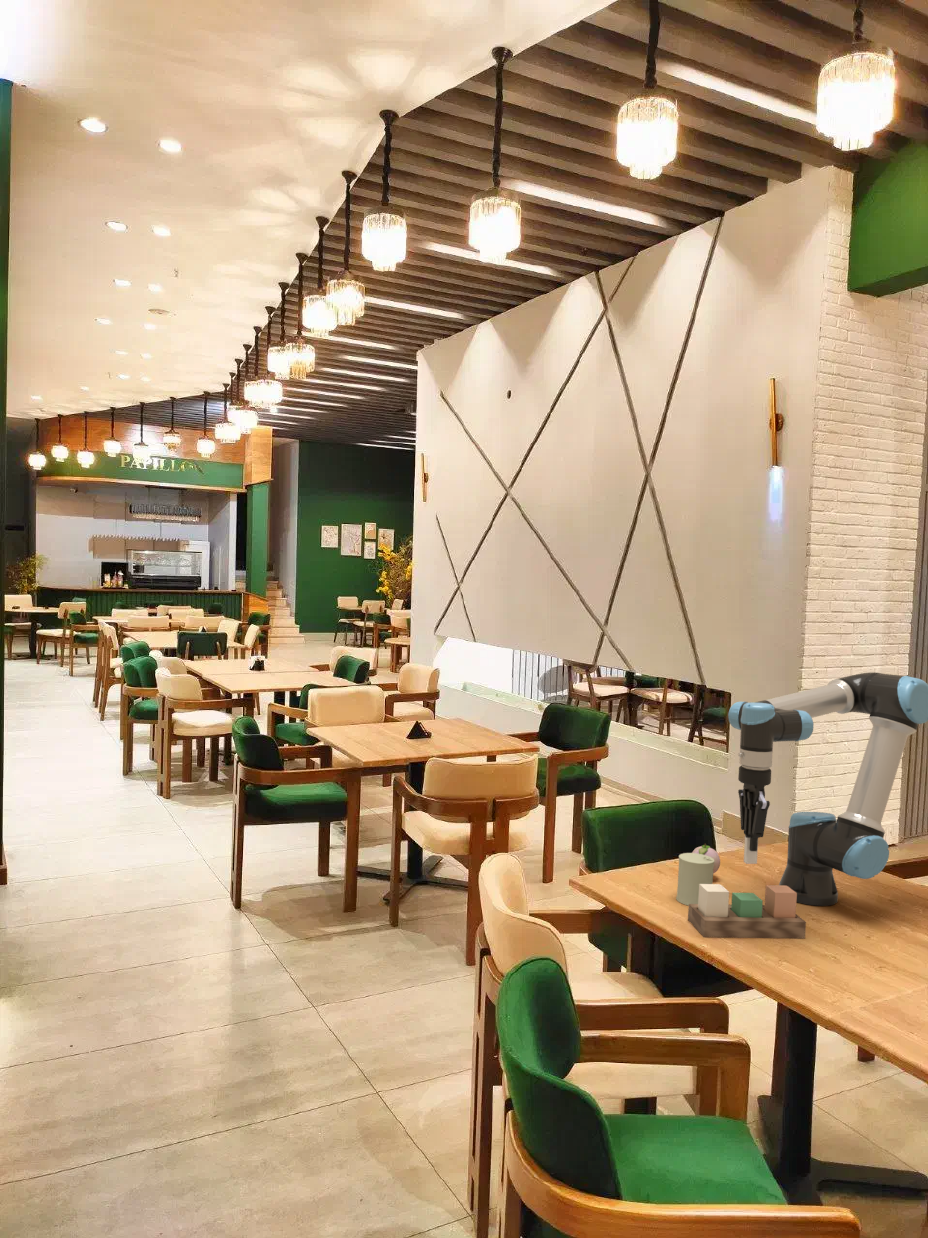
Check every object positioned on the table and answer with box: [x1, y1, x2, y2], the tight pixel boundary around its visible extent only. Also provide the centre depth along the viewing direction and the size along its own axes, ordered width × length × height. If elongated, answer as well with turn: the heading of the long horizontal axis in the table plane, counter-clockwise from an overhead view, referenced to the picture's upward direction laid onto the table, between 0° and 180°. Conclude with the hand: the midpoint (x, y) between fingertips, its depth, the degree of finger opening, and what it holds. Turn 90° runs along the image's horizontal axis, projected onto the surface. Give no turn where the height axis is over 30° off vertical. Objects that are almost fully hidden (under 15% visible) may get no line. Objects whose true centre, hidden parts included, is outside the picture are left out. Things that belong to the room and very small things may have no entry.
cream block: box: [698, 883, 730, 917], centre depth 215 cm, size 5×5×7 cm
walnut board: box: [687, 904, 807, 939], centre depth 216 cm, size 25×11×4 cm, turn 95°
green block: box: [730, 892, 764, 918], centre depth 215 cm, size 5×5×7 cm
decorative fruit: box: [691, 843, 721, 875], centre depth 254 cm, size 9×8×10 cm
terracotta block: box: [764, 884, 797, 918], centre depth 216 cm, size 5×5×7 cm
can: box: [675, 852, 714, 907], centre depth 234 cm, size 9×9×12 cm
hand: (750, 862), depth 215 cm, fingers closed
